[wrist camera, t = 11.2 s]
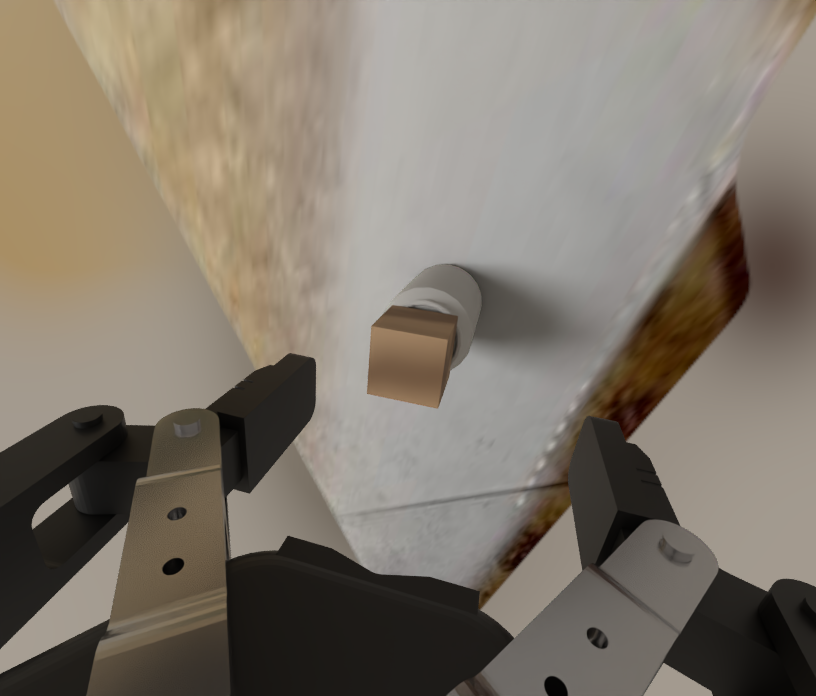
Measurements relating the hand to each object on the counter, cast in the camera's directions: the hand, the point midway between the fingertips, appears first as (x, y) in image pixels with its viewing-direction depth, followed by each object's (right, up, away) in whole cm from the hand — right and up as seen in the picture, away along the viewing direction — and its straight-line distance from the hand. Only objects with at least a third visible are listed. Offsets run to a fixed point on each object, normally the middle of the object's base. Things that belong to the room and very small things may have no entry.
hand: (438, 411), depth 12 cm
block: (0, +2, +20) cm, 20 cm away
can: (+3, +7, +31) cm, 31 cm away
